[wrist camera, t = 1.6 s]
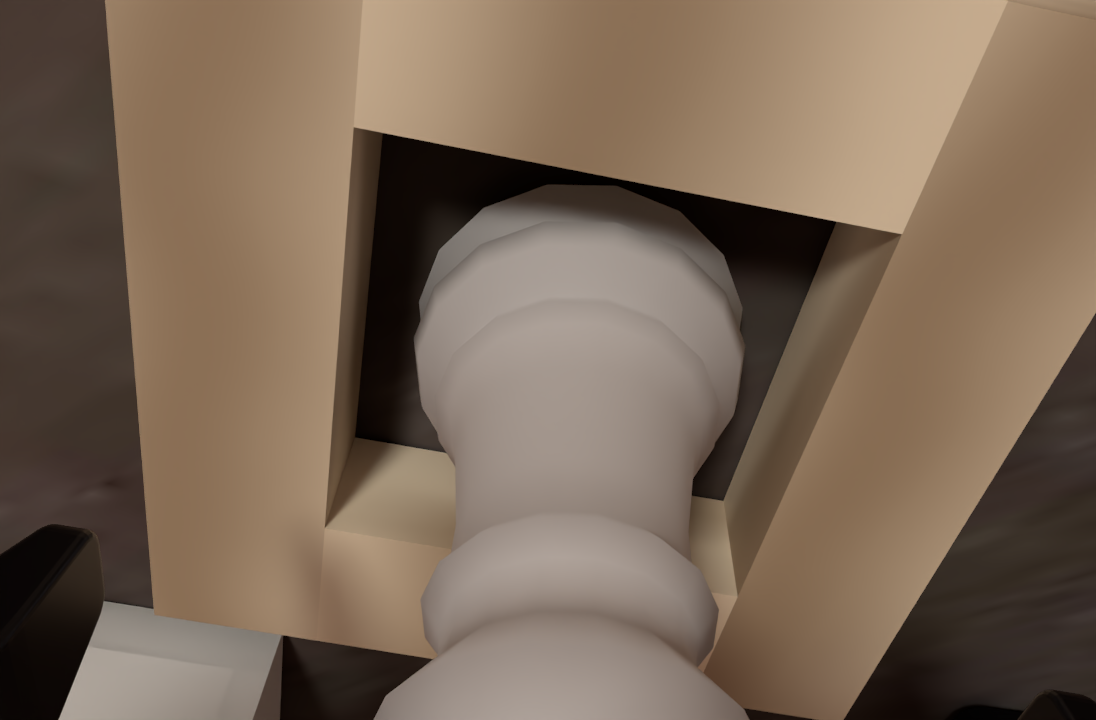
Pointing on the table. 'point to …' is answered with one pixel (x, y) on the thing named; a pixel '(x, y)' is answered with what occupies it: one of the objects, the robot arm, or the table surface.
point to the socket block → (628, 154)
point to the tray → (175, 670)
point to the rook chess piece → (573, 460)
